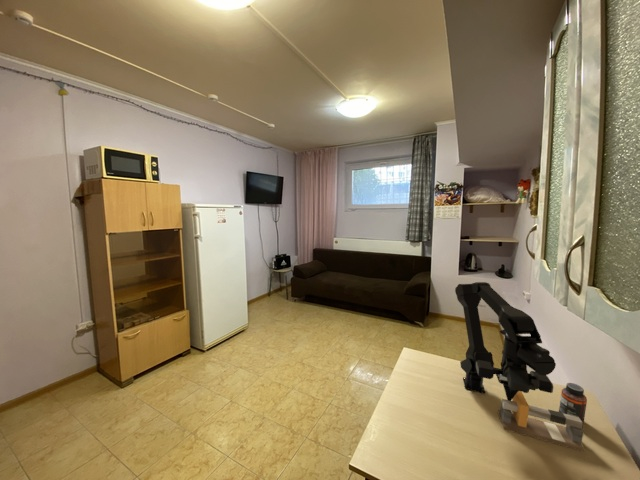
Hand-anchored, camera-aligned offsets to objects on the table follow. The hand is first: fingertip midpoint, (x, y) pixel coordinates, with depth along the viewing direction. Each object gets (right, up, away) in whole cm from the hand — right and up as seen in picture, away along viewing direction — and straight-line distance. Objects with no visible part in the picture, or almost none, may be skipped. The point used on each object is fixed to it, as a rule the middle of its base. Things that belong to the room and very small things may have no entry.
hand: (508, 399), depth 82 cm
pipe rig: (+7, -8, -2) cm, 11 cm away
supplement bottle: (+22, -8, +3) cm, 24 cm away
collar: (+3, -5, 0) cm, 6 cm away
